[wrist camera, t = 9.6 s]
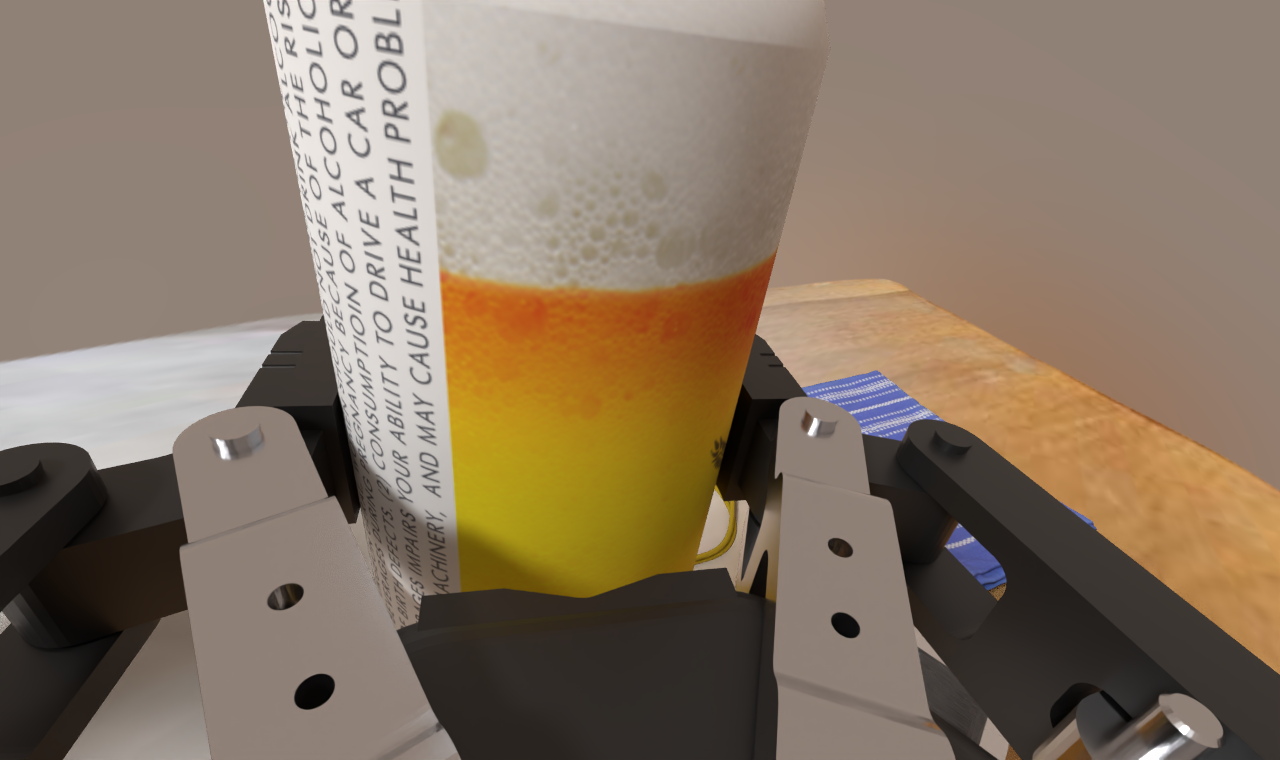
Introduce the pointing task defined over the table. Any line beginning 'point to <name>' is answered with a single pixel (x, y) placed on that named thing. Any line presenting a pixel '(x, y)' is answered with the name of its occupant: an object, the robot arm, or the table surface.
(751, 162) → the beer can
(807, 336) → the table surface
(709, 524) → the table surface
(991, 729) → the grey hollow box
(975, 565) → the dish towel
